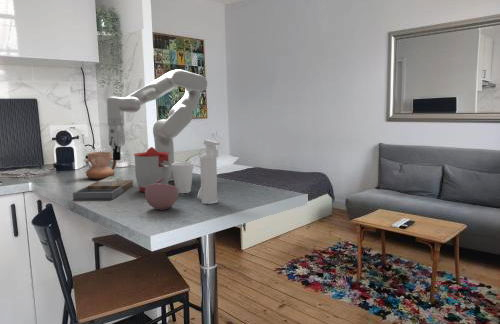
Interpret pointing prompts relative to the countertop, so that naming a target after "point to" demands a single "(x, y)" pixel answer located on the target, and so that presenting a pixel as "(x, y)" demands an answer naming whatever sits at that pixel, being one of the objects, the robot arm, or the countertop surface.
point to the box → (97, 194)
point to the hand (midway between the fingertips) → (116, 160)
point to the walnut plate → (124, 183)
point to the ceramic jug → (100, 165)
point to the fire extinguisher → (208, 172)
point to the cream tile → (107, 182)
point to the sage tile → (119, 178)
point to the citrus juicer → (151, 168)
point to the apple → (161, 195)
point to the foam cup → (182, 176)
